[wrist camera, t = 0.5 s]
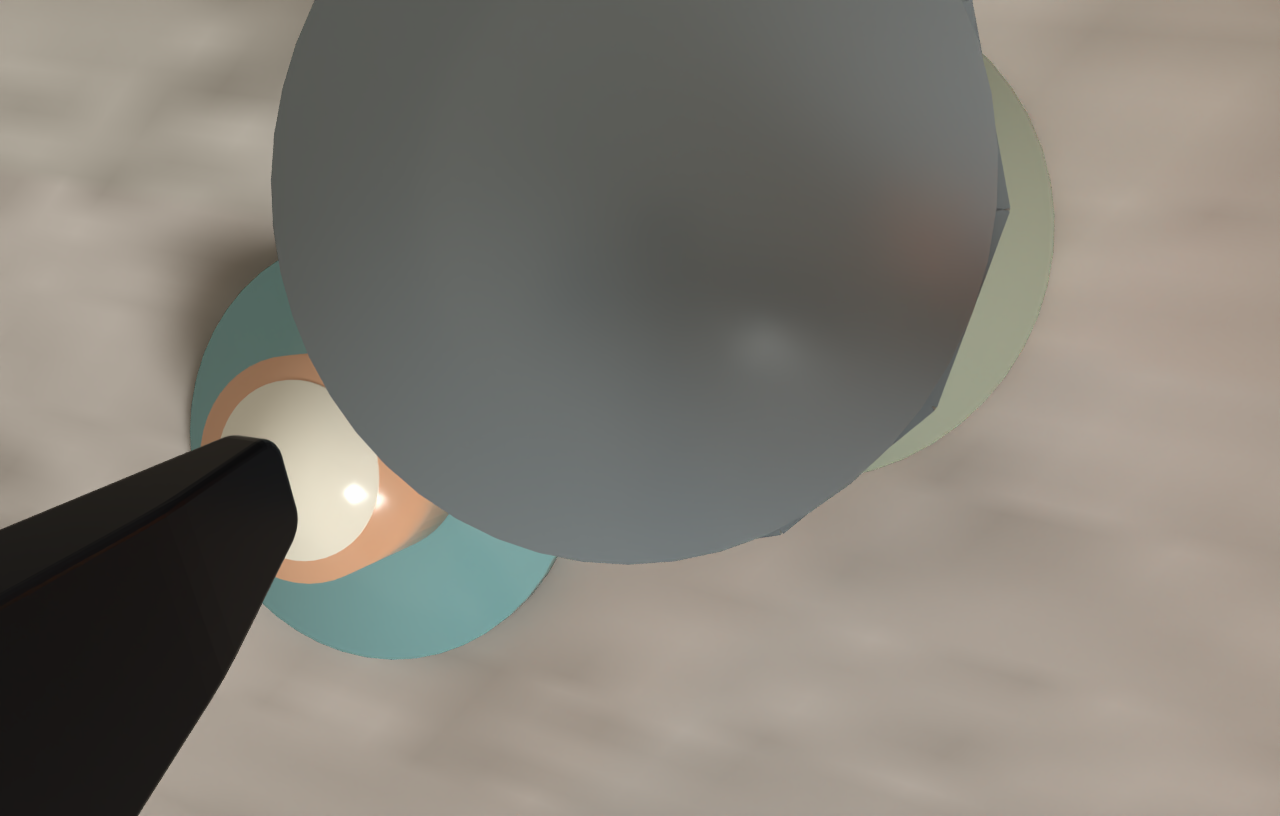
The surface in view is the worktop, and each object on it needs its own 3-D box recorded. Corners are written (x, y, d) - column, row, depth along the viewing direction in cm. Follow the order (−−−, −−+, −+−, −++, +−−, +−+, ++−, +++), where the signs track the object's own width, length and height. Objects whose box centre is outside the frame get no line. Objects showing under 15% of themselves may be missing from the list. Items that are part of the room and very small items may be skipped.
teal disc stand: (375, 732, 28) (290, 794, 24) (134, 421, 29) (20, 439, 26) (669, 478, 25) (619, 508, 22) (389, 143, 26) (300, 122, 23)
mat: (775, 570, 25) (772, 575, 24) (486, 225, 26) (478, 225, 25) (1167, 256, 22) (1169, 255, 21) (822, -117, 23) (820, -124, 22)
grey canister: (777, 496, 24) (575, 706, 12) (550, 228, 25) (150, 176, 13) (1074, 251, 22) (1185, 212, 10) (813, -34, 23) (627, -388, 11)
